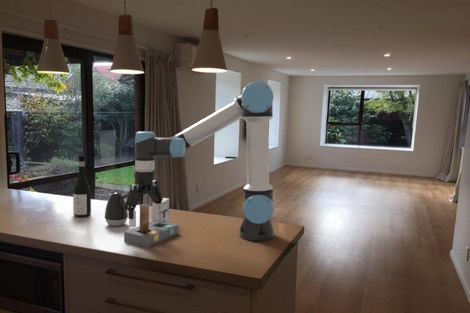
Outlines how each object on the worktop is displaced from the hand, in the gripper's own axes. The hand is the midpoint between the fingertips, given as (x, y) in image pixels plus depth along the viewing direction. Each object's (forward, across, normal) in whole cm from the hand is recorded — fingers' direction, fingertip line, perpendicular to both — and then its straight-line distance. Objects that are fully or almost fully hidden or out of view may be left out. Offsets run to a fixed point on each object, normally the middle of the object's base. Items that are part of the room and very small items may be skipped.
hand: (144, 222), depth 149 cm
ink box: (+8, -22, -9) cm, 25 cm away
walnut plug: (+7, 0, 0) cm, 7 cm away
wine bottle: (+8, -12, -50) cm, 52 cm away
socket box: (+7, -5, 0) cm, 9 cm away
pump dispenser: (+8, -10, -25) cm, 28 cm away
